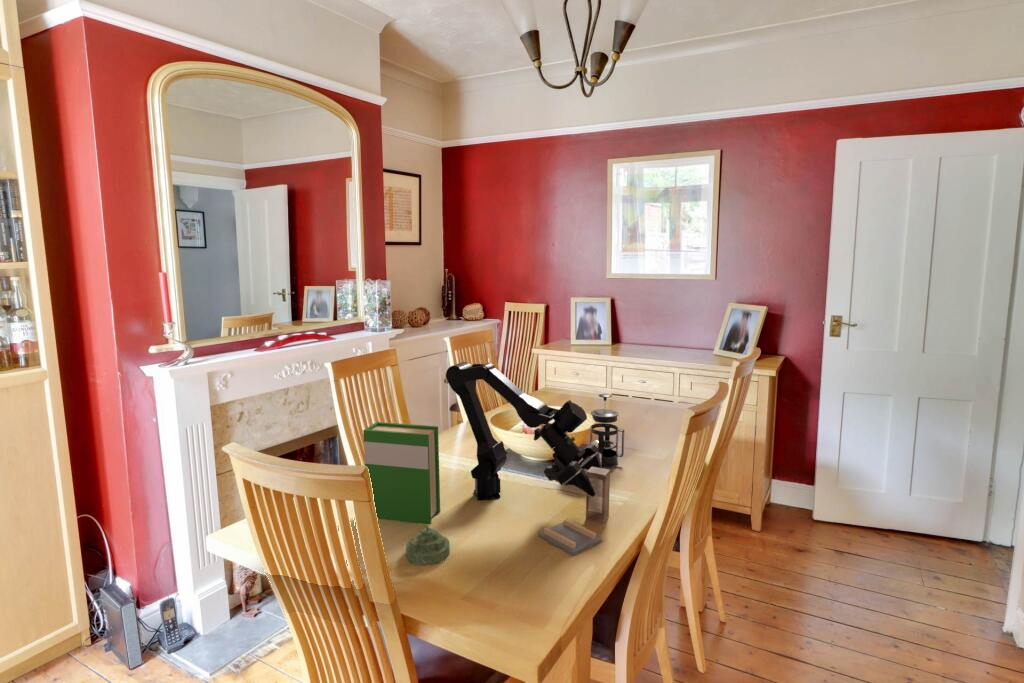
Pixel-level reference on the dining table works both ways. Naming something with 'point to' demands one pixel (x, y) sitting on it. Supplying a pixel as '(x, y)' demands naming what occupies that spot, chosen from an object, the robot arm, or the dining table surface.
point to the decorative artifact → (427, 548)
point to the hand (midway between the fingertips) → (599, 488)
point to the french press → (606, 434)
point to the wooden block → (598, 494)
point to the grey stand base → (570, 537)
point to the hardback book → (403, 470)
